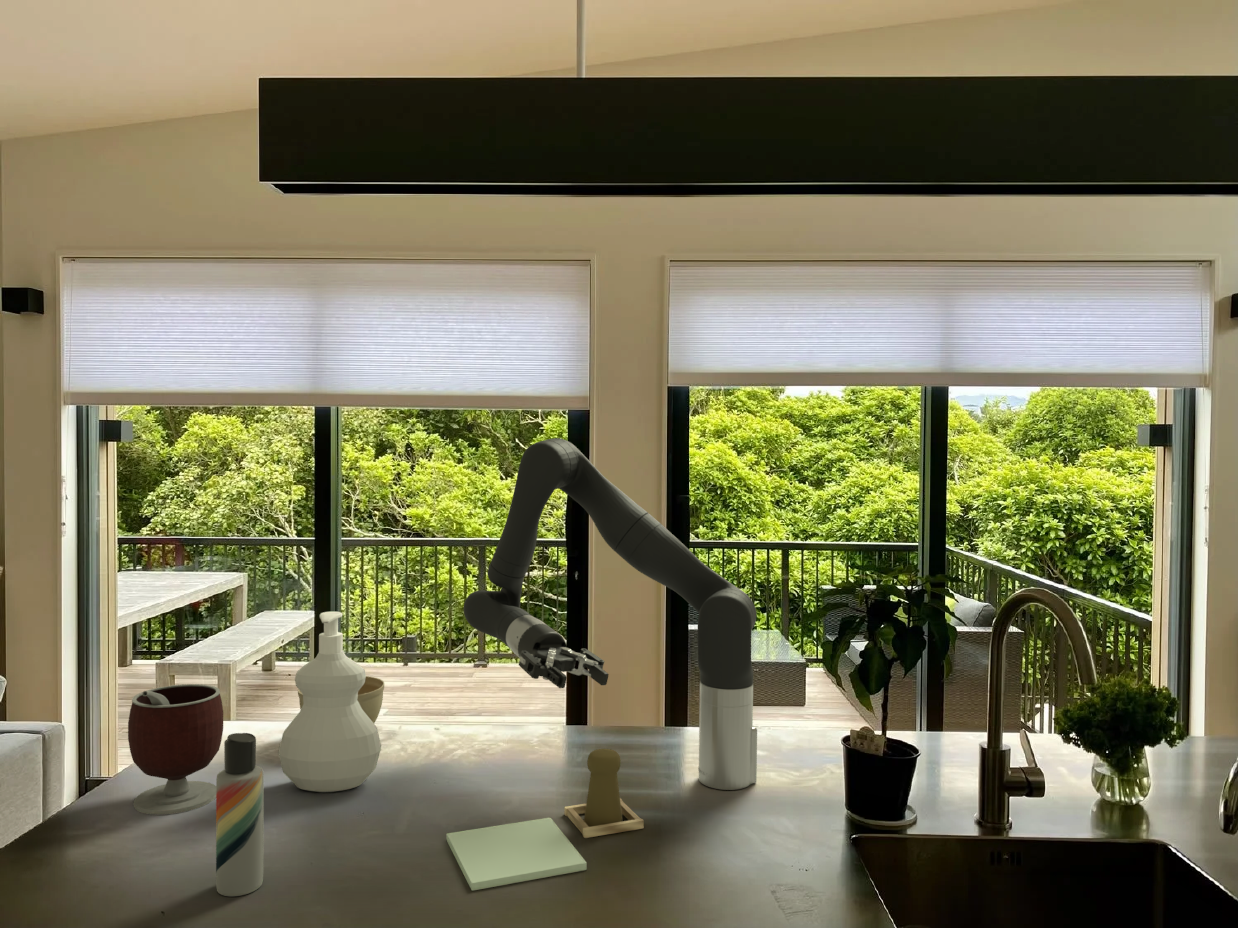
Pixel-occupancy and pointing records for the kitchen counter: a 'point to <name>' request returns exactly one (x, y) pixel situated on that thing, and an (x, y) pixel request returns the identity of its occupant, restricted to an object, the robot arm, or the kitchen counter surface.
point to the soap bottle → (330, 721)
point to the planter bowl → (366, 697)
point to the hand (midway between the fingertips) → (585, 681)
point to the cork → (603, 788)
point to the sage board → (514, 853)
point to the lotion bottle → (239, 818)
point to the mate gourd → (175, 744)
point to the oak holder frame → (606, 828)
